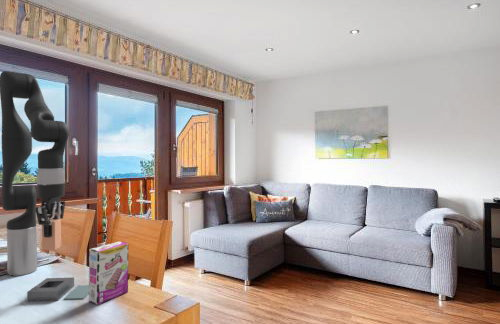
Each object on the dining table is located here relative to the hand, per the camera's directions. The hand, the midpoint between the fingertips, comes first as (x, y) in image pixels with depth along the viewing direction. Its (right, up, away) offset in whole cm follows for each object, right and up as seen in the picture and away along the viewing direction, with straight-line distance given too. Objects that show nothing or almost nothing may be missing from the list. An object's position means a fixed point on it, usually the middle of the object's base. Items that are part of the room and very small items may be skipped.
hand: (51, 234), depth 104 cm
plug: (0, -4, 0) cm, 4 cm away
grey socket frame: (0, -19, +1) cm, 19 cm away
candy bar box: (+20, -20, -2) cm, 28 cm away
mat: (+9, -19, +1) cm, 21 cm away
